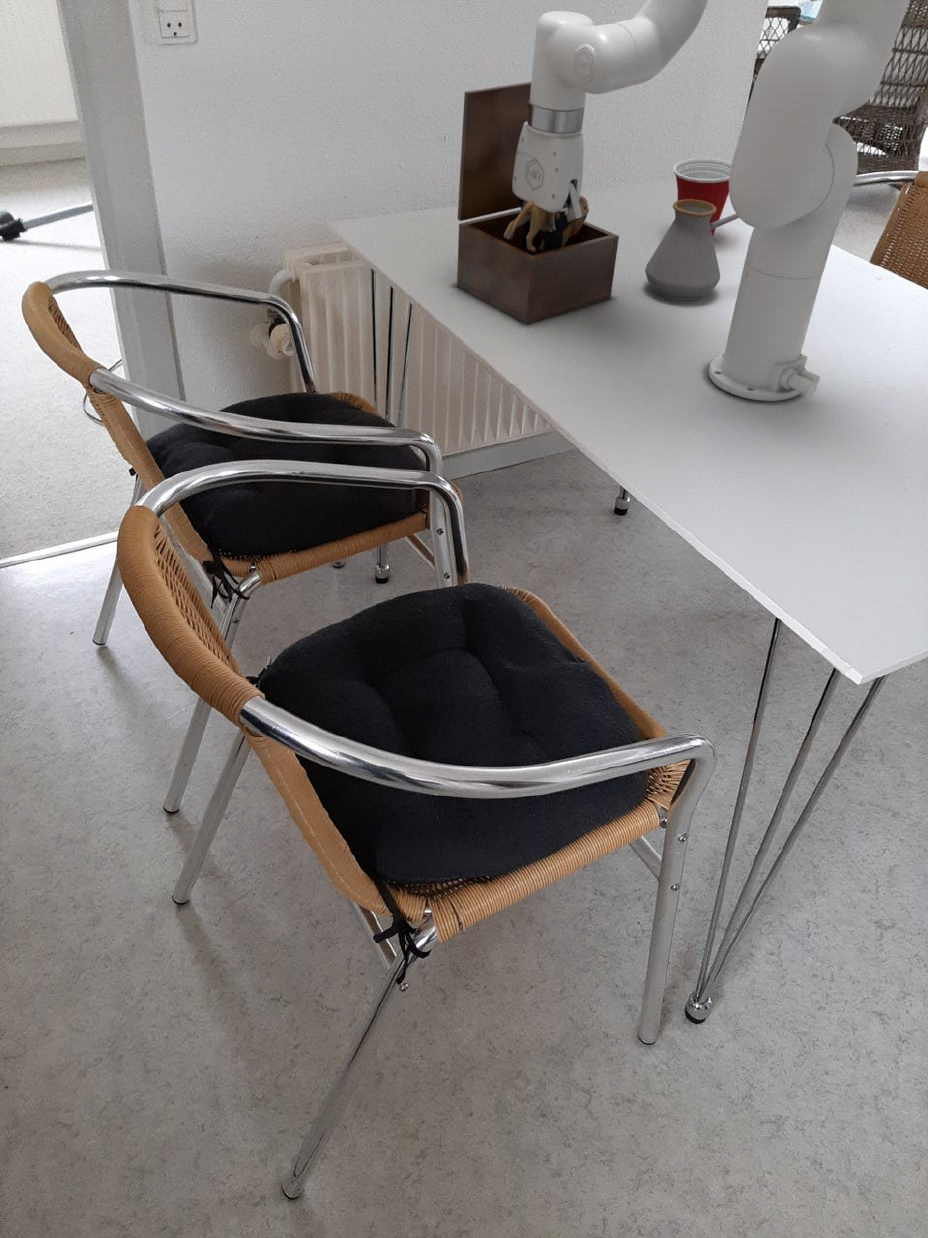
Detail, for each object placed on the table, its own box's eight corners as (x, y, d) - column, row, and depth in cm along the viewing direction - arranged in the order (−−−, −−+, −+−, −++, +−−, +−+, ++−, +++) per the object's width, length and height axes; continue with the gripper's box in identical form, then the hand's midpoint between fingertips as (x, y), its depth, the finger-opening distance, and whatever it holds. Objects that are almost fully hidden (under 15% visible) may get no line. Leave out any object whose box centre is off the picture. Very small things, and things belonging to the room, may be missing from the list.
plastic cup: (649, 231, 176) (661, 159, 168) (700, 224, 180) (713, 153, 172) (685, 253, 169) (698, 178, 161) (737, 245, 172) (752, 172, 165)
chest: (610, 298, 153) (619, 235, 147) (526, 324, 145) (531, 258, 139) (539, 263, 163) (544, 203, 157) (456, 286, 154) (458, 223, 148)
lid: (560, 78, 144) (538, 70, 147) (468, 92, 136) (445, 83, 139) (546, 201, 156) (526, 191, 159) (460, 221, 148) (440, 210, 151)
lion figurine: (549, 247, 155) (575, 189, 150) (574, 263, 153) (601, 205, 148) (493, 234, 143) (520, 171, 139) (519, 251, 141) (547, 188, 137)
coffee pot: (653, 306, 151) (671, 204, 142) (633, 276, 160) (648, 178, 150) (788, 304, 154) (813, 203, 144) (761, 275, 163) (784, 178, 153)
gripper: (495, 104, 139) (485, 236, 152) (577, 138, 130) (559, 276, 142) (535, 98, 143) (523, 227, 155) (618, 131, 134) (597, 265, 146)
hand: (540, 249), depth 149 cm, fingers closed on lion figurine, 4 cm apart
